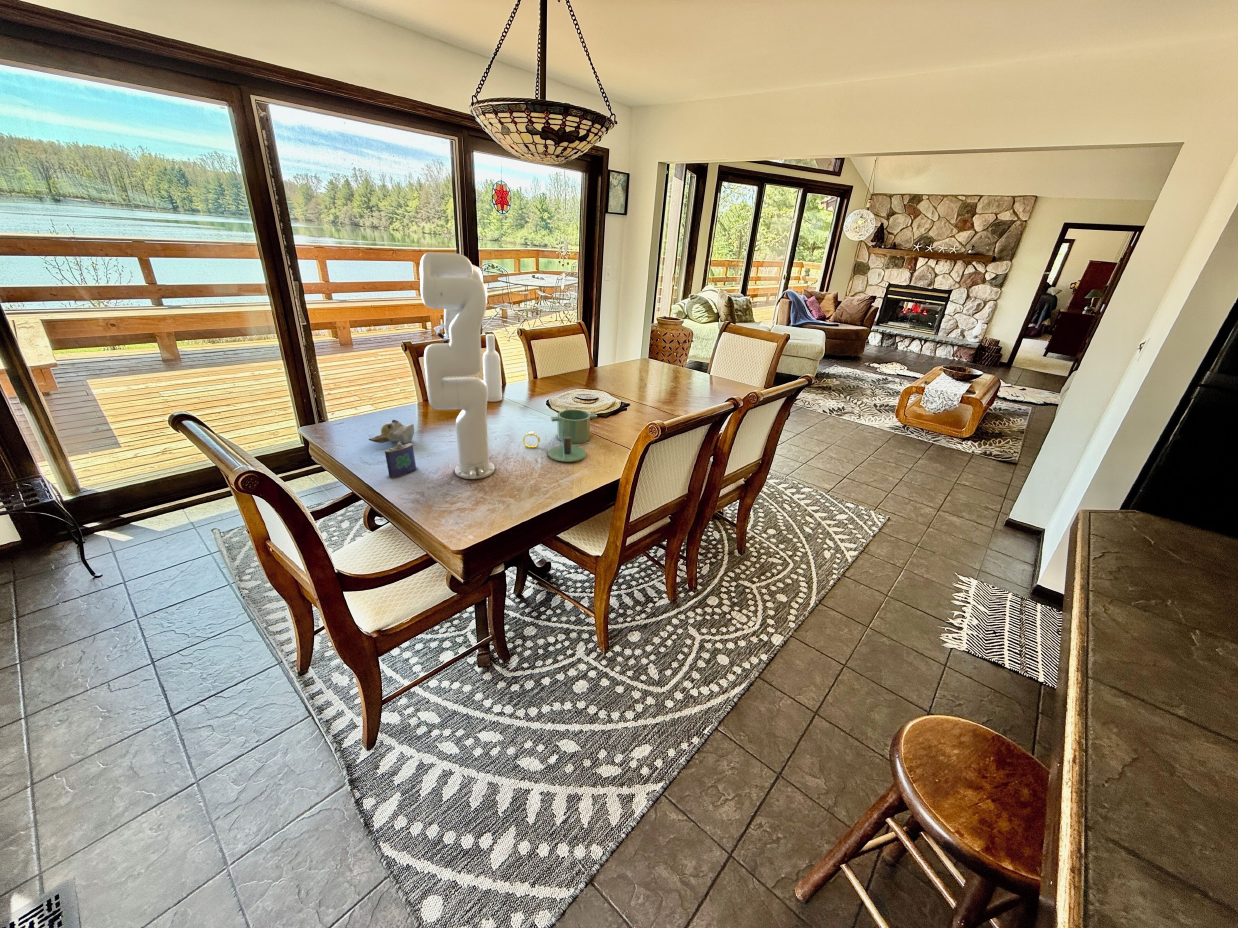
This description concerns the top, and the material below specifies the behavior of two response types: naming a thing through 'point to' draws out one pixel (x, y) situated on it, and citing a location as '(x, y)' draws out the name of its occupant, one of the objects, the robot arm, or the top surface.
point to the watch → (531, 435)
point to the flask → (400, 460)
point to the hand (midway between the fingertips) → (460, 350)
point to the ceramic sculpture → (395, 433)
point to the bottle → (492, 370)
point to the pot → (574, 425)
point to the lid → (567, 452)
